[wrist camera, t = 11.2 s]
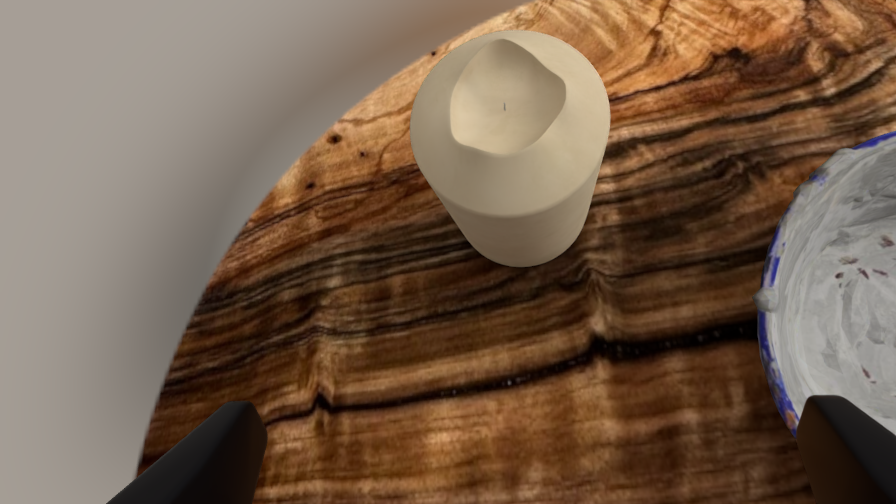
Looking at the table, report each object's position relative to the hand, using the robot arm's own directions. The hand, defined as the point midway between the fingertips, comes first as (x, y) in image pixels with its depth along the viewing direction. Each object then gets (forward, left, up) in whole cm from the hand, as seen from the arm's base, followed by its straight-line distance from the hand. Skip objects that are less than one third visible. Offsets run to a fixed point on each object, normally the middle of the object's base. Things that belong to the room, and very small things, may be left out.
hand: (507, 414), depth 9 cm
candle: (+5, +5, -13) cm, 15 cm away
